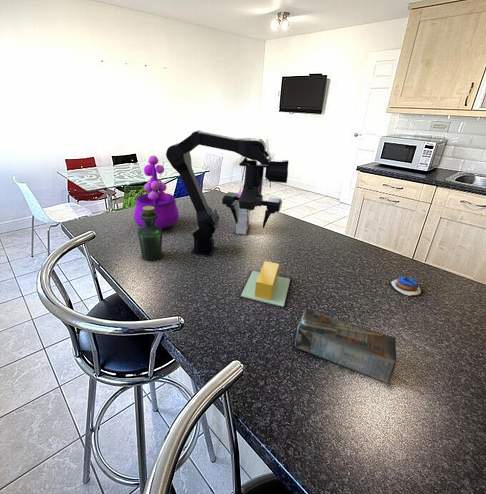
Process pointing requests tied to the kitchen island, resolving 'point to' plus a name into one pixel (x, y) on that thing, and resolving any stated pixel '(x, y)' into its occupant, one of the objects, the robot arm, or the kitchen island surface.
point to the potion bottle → (150, 235)
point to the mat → (278, 292)
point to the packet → (266, 280)
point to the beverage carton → (347, 345)
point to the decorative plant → (156, 198)
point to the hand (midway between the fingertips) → (249, 225)
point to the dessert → (406, 285)
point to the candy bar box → (242, 219)
